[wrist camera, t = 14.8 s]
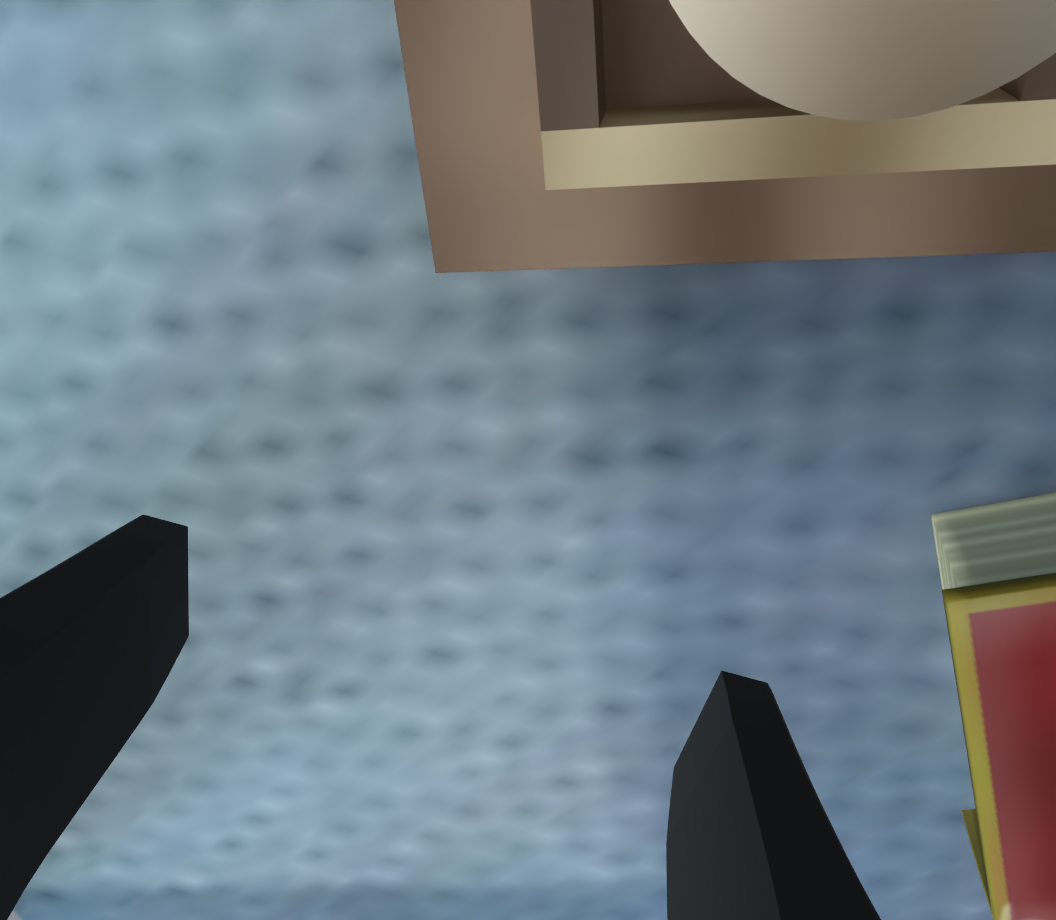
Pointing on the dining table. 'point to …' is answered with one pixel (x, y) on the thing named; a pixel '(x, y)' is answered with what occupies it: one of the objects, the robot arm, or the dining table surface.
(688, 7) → the ash peg
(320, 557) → the dining table surface
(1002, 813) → the hardcover book
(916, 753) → the dining table surface
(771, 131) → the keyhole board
